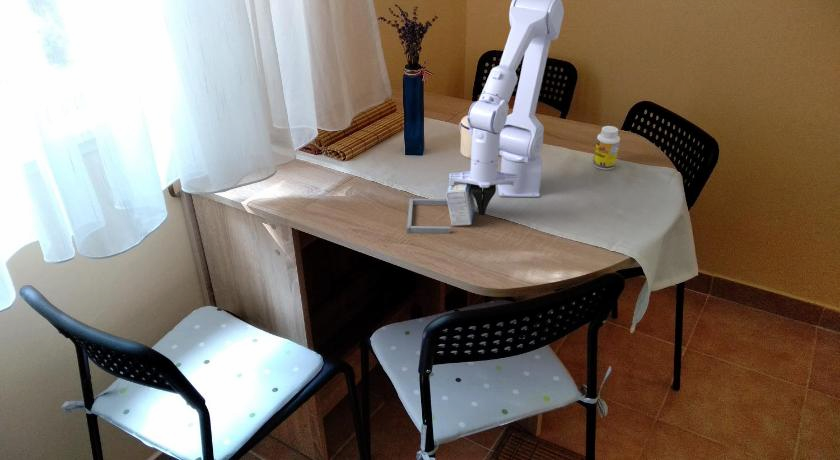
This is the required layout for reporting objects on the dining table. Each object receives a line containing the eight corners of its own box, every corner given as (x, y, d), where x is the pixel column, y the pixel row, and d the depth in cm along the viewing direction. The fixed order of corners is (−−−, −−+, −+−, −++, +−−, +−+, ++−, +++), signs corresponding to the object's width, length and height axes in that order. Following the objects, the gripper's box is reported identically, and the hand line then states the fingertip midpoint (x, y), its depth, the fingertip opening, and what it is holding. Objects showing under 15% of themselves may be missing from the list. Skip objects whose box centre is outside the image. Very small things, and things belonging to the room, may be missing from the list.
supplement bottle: (588, 163, 163) (594, 126, 158) (606, 159, 165) (612, 122, 160) (601, 172, 159) (607, 134, 154) (619, 168, 161) (626, 131, 155)
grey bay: (449, 203, 146) (449, 199, 145) (450, 233, 136) (450, 228, 135) (409, 202, 146) (409, 198, 146) (407, 232, 136) (407, 227, 135)
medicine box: (471, 225, 137) (466, 190, 132) (451, 226, 138) (445, 191, 134) (475, 207, 143) (471, 173, 139) (456, 208, 144) (451, 174, 140)
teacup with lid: (500, 154, 168) (503, 113, 161) (473, 163, 163) (475, 121, 157) (473, 138, 176) (475, 98, 170) (446, 146, 172) (447, 105, 166)
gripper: (450, 165, 129) (448, 222, 137) (521, 166, 129) (516, 222, 136) (449, 150, 135) (448, 205, 143) (518, 151, 135) (513, 206, 142)
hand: (481, 212), depth 140 cm, fingers closed
